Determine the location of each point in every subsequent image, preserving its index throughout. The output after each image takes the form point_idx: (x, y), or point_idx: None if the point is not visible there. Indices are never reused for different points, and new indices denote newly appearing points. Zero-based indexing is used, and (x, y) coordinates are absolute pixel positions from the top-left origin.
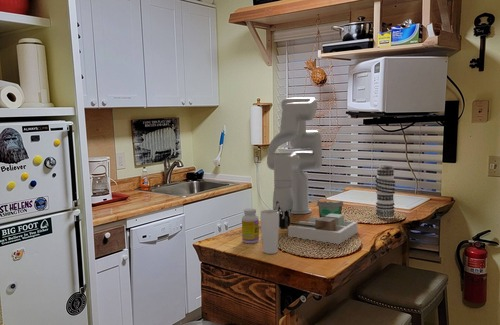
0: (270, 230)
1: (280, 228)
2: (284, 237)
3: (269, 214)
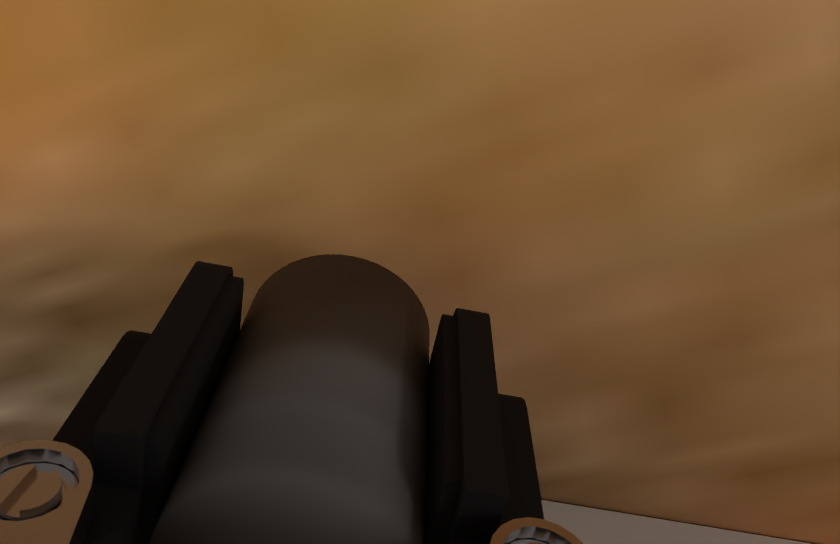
0: None
1: (282, 268)
2: (23, 375)
3: None
